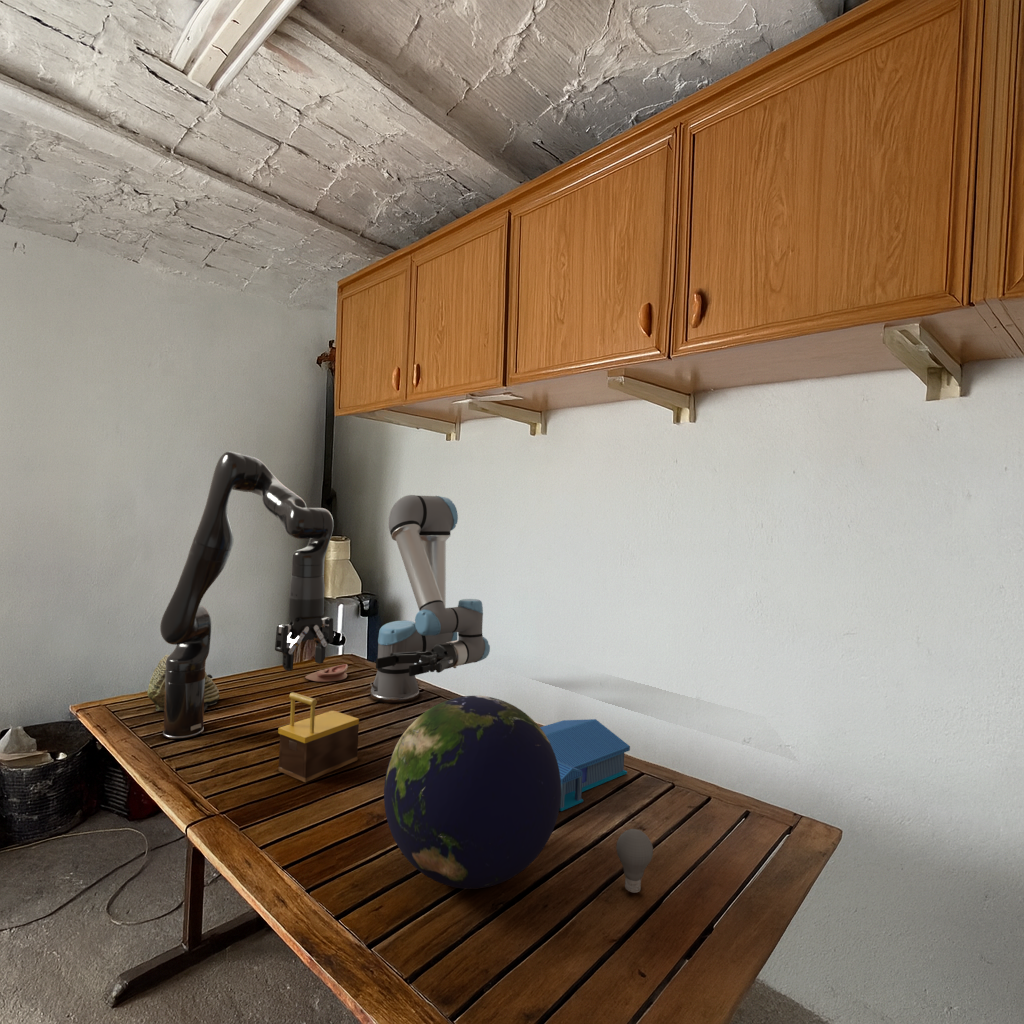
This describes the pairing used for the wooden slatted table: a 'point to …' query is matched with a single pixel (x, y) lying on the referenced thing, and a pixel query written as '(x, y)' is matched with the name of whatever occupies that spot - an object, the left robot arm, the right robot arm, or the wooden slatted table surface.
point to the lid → (315, 722)
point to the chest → (318, 754)
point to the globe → (472, 792)
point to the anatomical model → (329, 674)
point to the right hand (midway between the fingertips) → (392, 667)
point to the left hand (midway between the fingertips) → (304, 666)
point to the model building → (584, 756)
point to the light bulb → (634, 857)
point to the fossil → (158, 687)
